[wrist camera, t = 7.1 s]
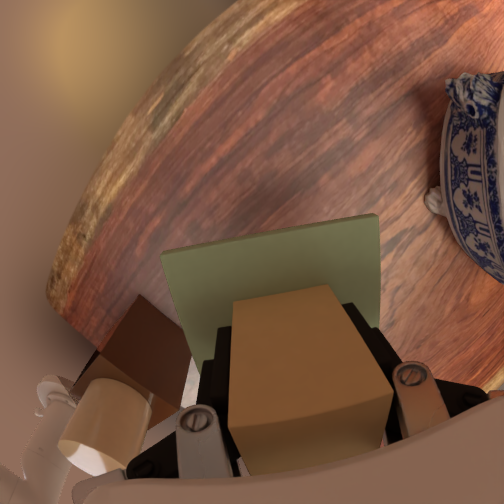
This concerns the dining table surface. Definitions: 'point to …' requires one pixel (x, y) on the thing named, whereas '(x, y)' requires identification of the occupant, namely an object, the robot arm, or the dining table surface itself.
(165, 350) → the cylinder on cube
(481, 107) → the decorative bowl
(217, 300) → the block on board
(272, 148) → the dining table surface
